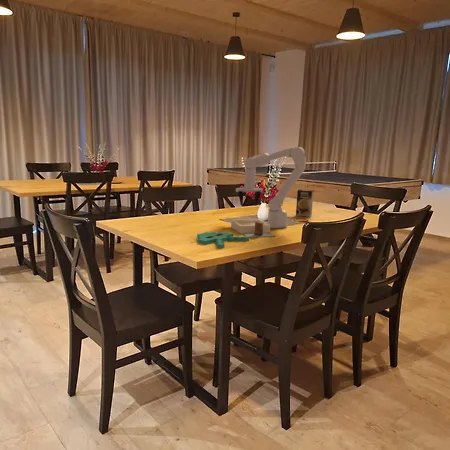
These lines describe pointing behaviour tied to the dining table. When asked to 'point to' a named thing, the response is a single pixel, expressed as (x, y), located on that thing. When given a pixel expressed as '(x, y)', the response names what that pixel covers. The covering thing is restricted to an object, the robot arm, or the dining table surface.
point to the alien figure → (218, 238)
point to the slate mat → (251, 235)
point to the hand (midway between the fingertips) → (248, 205)
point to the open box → (248, 226)
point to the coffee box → (304, 203)
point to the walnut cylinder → (258, 228)
